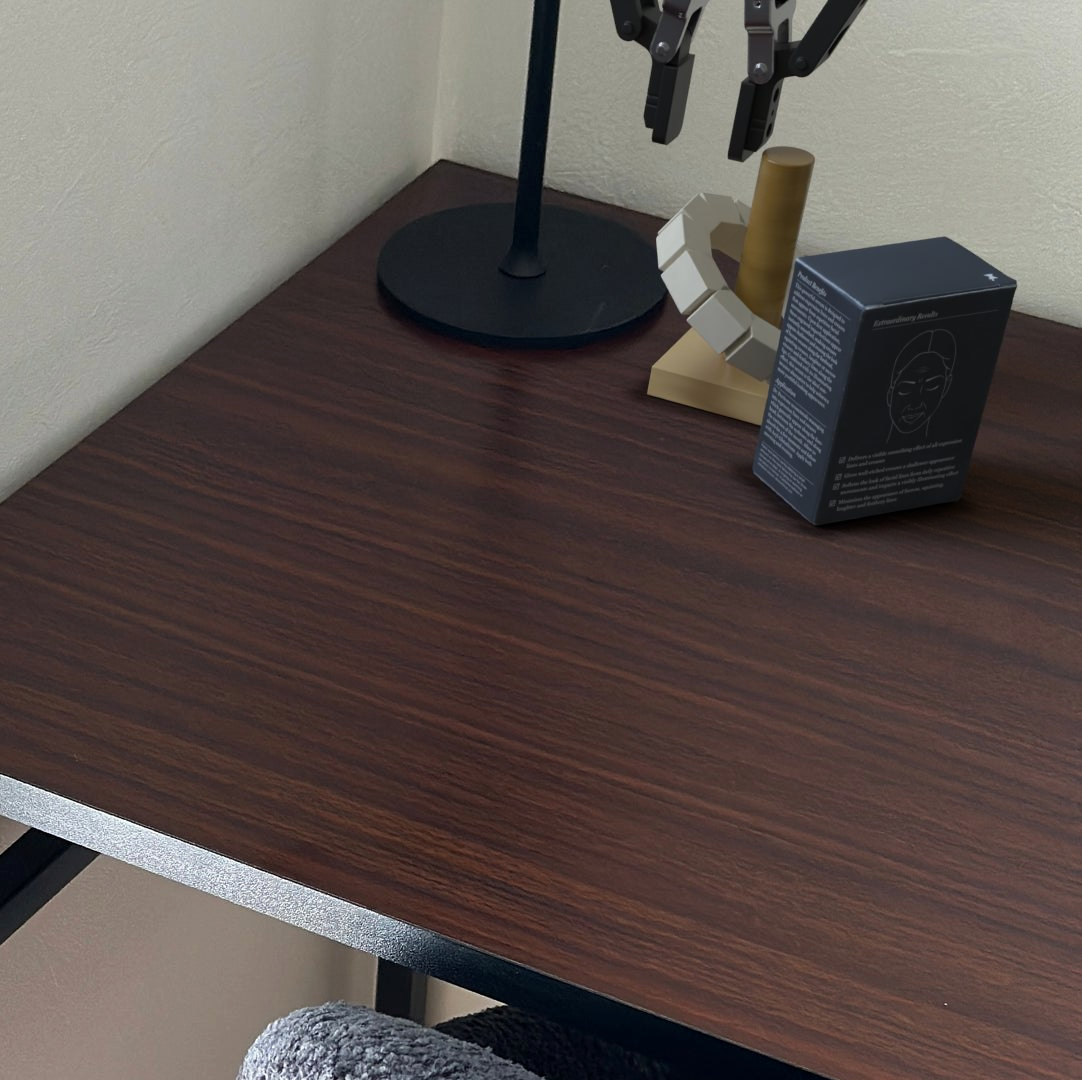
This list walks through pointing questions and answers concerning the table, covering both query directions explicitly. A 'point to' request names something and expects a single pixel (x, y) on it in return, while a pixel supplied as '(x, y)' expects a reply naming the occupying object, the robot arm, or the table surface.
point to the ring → (716, 281)
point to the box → (881, 378)
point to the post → (745, 294)
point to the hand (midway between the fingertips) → (703, 145)
